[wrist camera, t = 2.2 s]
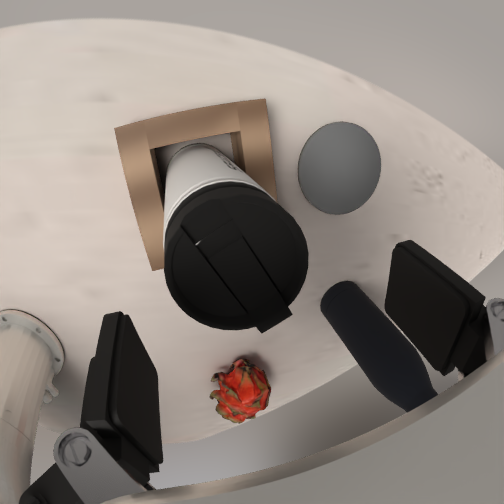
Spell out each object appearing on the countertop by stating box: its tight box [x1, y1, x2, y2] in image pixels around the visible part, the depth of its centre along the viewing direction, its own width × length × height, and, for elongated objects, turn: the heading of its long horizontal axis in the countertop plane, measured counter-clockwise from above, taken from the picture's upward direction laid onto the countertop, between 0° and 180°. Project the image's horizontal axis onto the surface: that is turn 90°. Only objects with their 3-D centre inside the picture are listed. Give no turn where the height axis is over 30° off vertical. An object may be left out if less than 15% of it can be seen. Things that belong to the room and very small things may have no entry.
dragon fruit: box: [210, 359, 271, 423], centre depth 41 cm, size 8×8×12 cm
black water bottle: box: [320, 281, 438, 413], centre depth 29 cm, size 6×6×30 cm
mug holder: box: [114, 99, 277, 271], centre depth 27 cm, size 13×13×5 cm
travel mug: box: [163, 143, 308, 333], centre depth 21 cm, size 6×7×20 cm
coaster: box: [298, 122, 381, 215], centre depth 33 cm, size 11×11×1 cm
